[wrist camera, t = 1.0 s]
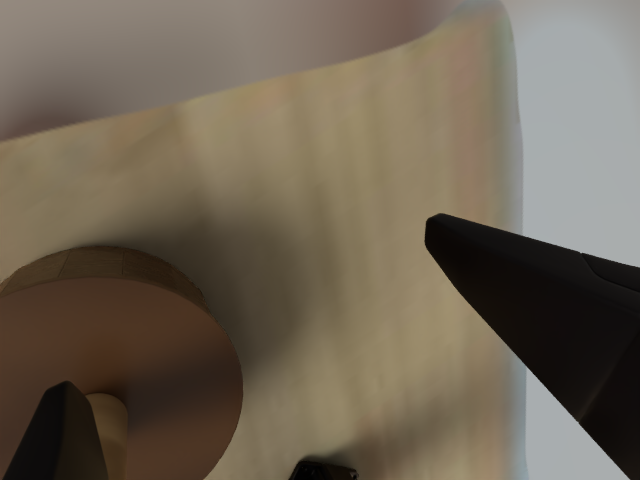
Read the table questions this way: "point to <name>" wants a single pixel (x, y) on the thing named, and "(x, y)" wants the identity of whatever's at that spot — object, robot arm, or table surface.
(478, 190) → the table surface
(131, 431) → the lid
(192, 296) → the bowl
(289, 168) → the table surface
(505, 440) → the table surface
